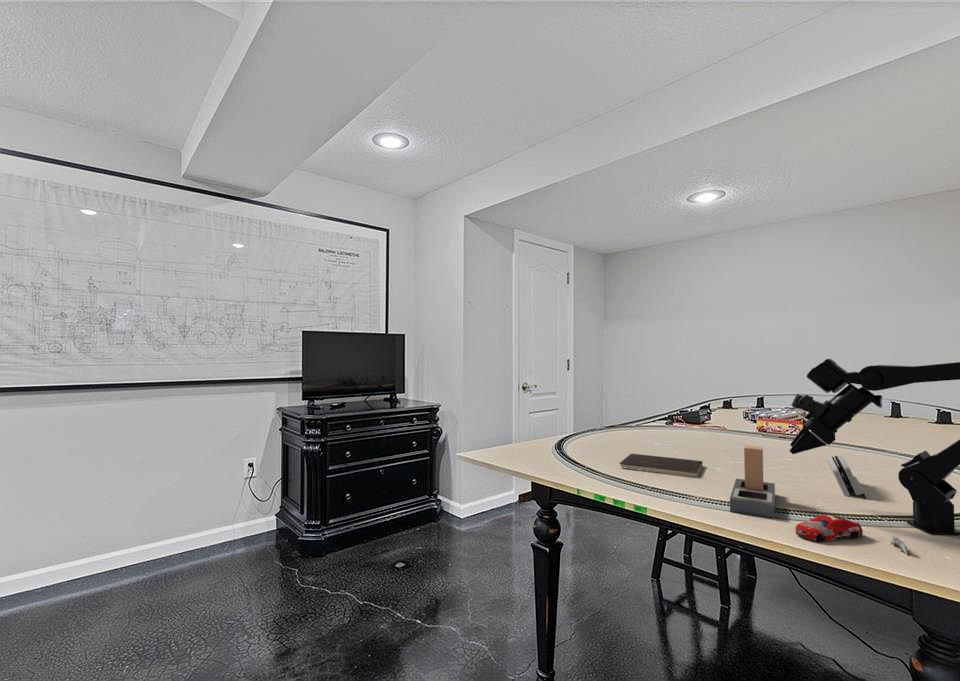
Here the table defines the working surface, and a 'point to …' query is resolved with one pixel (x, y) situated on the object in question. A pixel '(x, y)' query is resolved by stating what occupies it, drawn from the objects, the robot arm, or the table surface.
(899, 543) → the small metal piece
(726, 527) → the table surface
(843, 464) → the white slotted holder
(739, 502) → the block with square holes
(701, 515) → the table surface
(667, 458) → the hardcover book
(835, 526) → the race car
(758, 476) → the peg
